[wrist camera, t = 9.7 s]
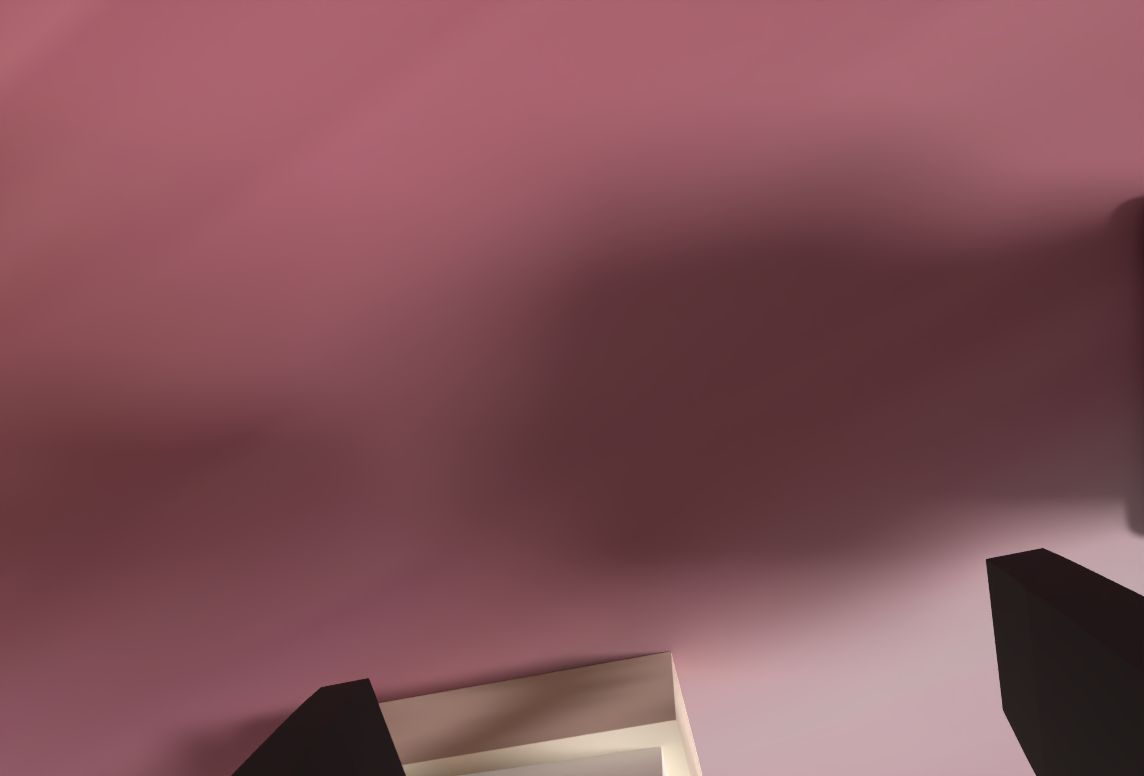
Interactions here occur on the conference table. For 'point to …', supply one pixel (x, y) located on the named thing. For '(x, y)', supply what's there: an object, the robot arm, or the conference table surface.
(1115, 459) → the conference table surface
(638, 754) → the top slab
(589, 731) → the base slab
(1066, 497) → the conference table surface
